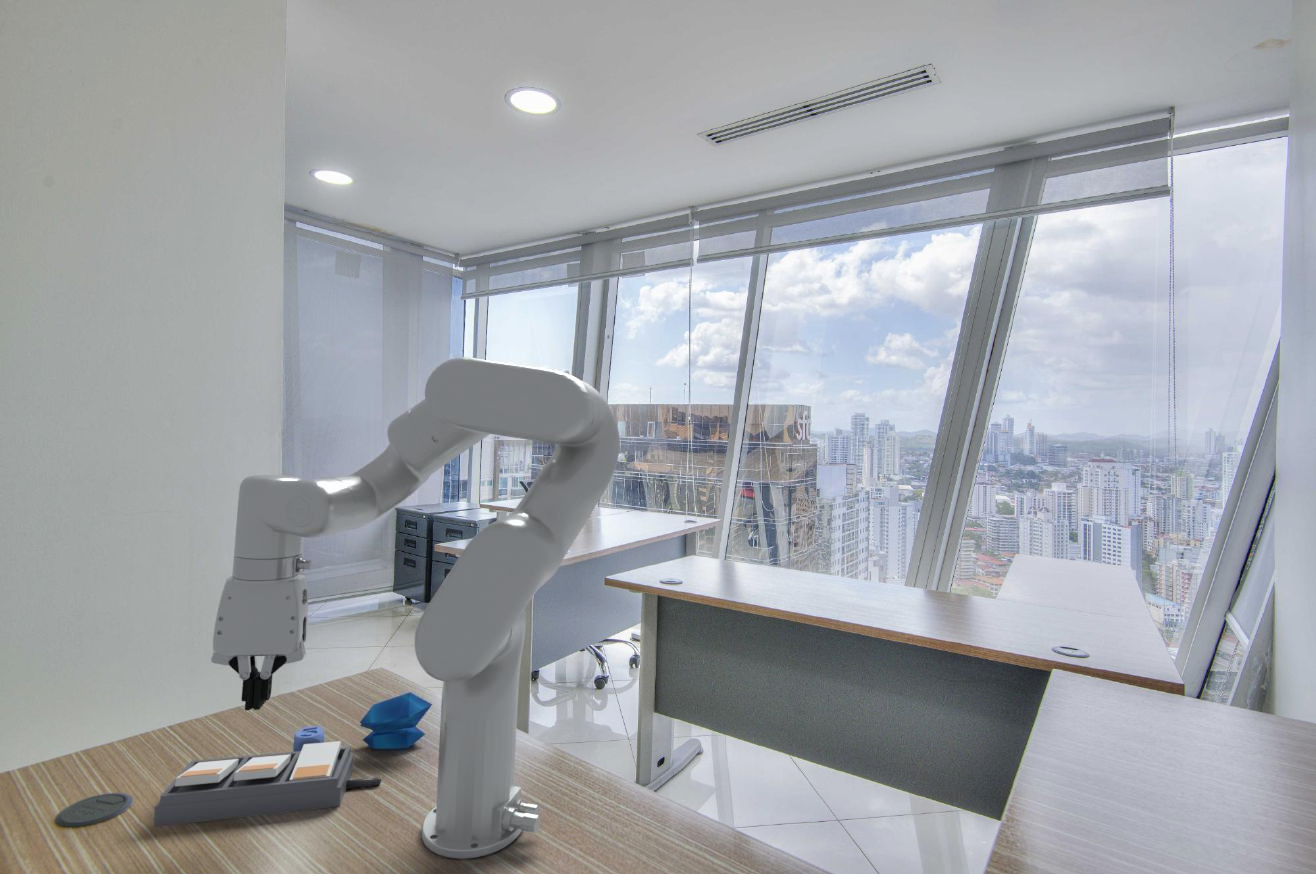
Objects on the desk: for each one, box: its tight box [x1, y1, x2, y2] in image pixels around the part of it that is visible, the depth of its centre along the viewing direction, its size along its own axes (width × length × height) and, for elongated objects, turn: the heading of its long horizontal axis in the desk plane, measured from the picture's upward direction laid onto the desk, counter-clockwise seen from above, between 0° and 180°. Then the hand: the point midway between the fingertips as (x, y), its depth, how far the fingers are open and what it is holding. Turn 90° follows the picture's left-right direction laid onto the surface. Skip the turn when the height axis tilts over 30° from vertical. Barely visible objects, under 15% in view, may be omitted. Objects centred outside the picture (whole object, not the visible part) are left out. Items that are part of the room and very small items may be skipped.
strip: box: [153, 746, 382, 828], centre depth 84 cm, size 26×9×4 cm, turn 106°
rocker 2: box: [289, 740, 342, 781], centre depth 86 cm, size 5×7×1 cm
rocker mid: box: [234, 754, 291, 781], centre depth 84 cm, size 5×7×1 cm
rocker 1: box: [175, 759, 239, 786], centre depth 82 cm, size 5×7×1 cm
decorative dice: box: [292, 725, 325, 752], centre depth 95 cm, size 4×4×4 cm
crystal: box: [359, 691, 433, 750], centre depth 99 cm, size 7×9×12 cm
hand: (255, 705), depth 82 cm, fingers closed
